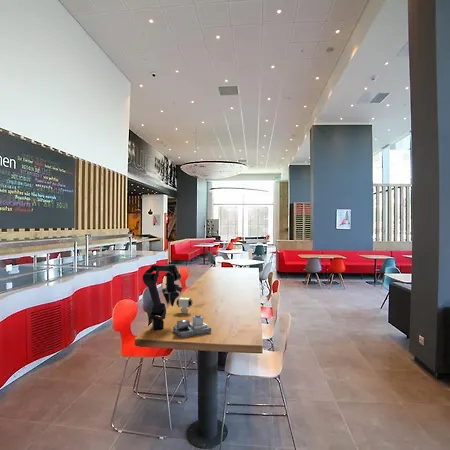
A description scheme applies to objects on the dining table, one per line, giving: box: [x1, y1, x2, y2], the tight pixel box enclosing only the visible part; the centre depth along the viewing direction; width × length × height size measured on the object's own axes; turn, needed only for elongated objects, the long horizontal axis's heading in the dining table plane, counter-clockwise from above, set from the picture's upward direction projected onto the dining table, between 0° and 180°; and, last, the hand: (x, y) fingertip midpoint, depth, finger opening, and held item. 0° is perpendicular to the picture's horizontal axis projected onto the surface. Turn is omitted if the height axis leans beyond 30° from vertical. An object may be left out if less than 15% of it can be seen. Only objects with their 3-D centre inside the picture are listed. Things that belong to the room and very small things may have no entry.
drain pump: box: [192, 314, 204, 326], centre depth 198 cm, size 5×5×7 cm
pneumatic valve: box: [175, 296, 193, 314], centre depth 241 cm, size 6×12×12 cm, turn 82°
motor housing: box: [172, 319, 212, 339], centre depth 195 cm, size 21×14×8 cm, turn 120°
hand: (170, 304), depth 217 cm, fingers open, 9 cm apart
